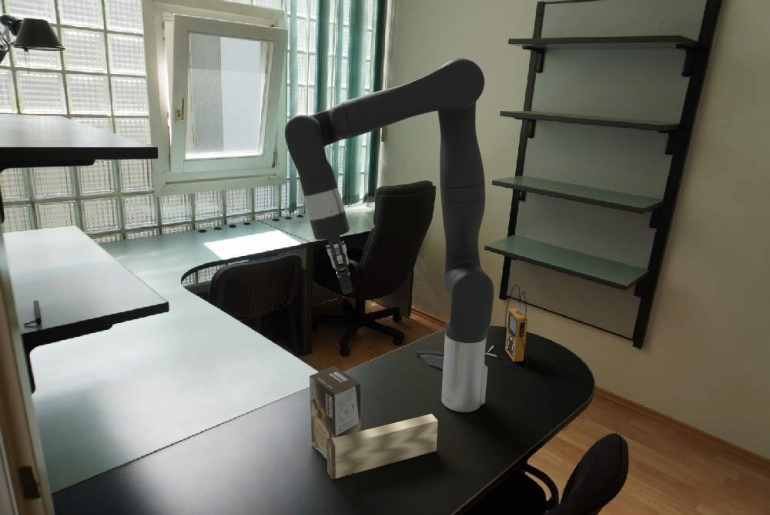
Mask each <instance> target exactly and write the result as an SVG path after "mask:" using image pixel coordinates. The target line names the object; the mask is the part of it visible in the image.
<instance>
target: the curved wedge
mask: <svg viewBox="0 0 770 515" xmlns="http://www.w3.org/2000/svg"><path fill="white" fill-rule="evenodd" d="M416 355H417V357H419V358H420V359H421V360H423V361H424V362H425V363H426V365H427V366H429V367H431V368H434V369H435V370H438V371H440V372H443V362H444V351H437V350H428V349H425V350H424V349H423V350H422V349H421V350H418V351H417V352H416Z"/></svg>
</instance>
